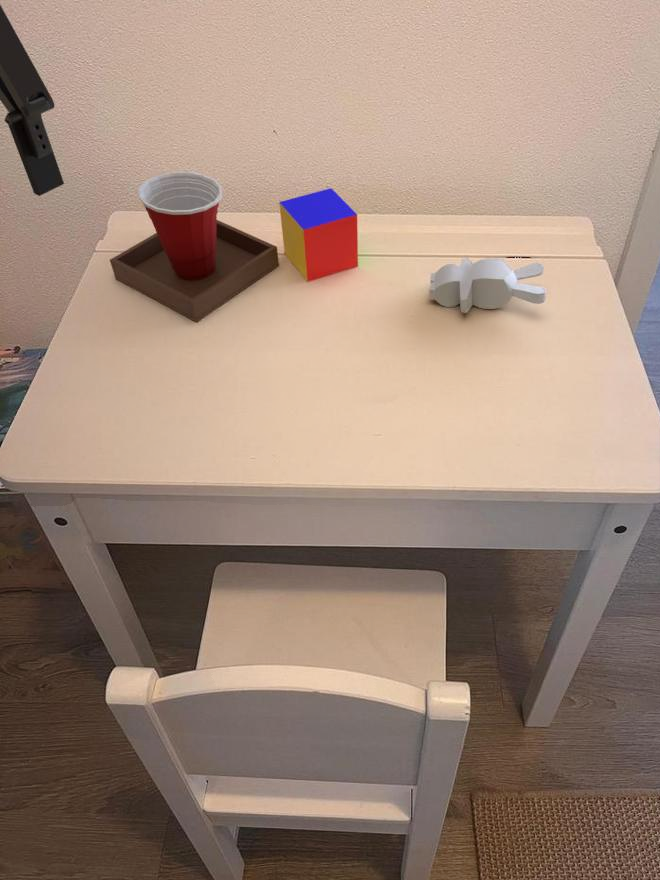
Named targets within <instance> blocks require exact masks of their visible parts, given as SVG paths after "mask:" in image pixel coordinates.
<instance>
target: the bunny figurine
mask: <svg viewBox="0 0 660 880" xmlns="http://www.w3.org/2000/svg"><path fill="white" fill-rule="evenodd" d="M544 269H545V266H543V264H542V263H539V262H535V263H531V264H528V265H525V266H522V267H519V268H517V269H515V270H512V269H511V268H510V266H509V265H508V264H507V262H506V260H505V259H504V258H497V257H490V258H489V257H488V258H484V259H483V258H482V259H479V260H477V261H475V262H474V263H473V262H472V261H471V260H470V258H469V257H465V258H462V259H461V261H460V265H458V264H455V263H447V264H445V265H443V266H442V267H440V268H439V269H438V270H436V272H430V283H429V300H432V301H436V302H437V303H438V304H439V305H441V306H442V307H446V308H454V307H456V306H457V305H459V307H460V308H459V309H460V313H465V314H468V312H469V311H470V310H471V309H472V307H473V306H475V307H477V308H479V309H485V310H495V309H496V310H497V309H501V308H504V307H505V306H506V304H507V303H508V302H509V301H510V300H511V299H512V298H516V299H520V300H523V301H525V302H528V303H531V304H536V305H540V304H543V303H545V301H546V299H547V290H546V288H545V287H543V286H539V285H532V284H526V283H520V281H521V280H526V279H530V278H535V277H540V276H541V275H543V274H544Z"/></svg>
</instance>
